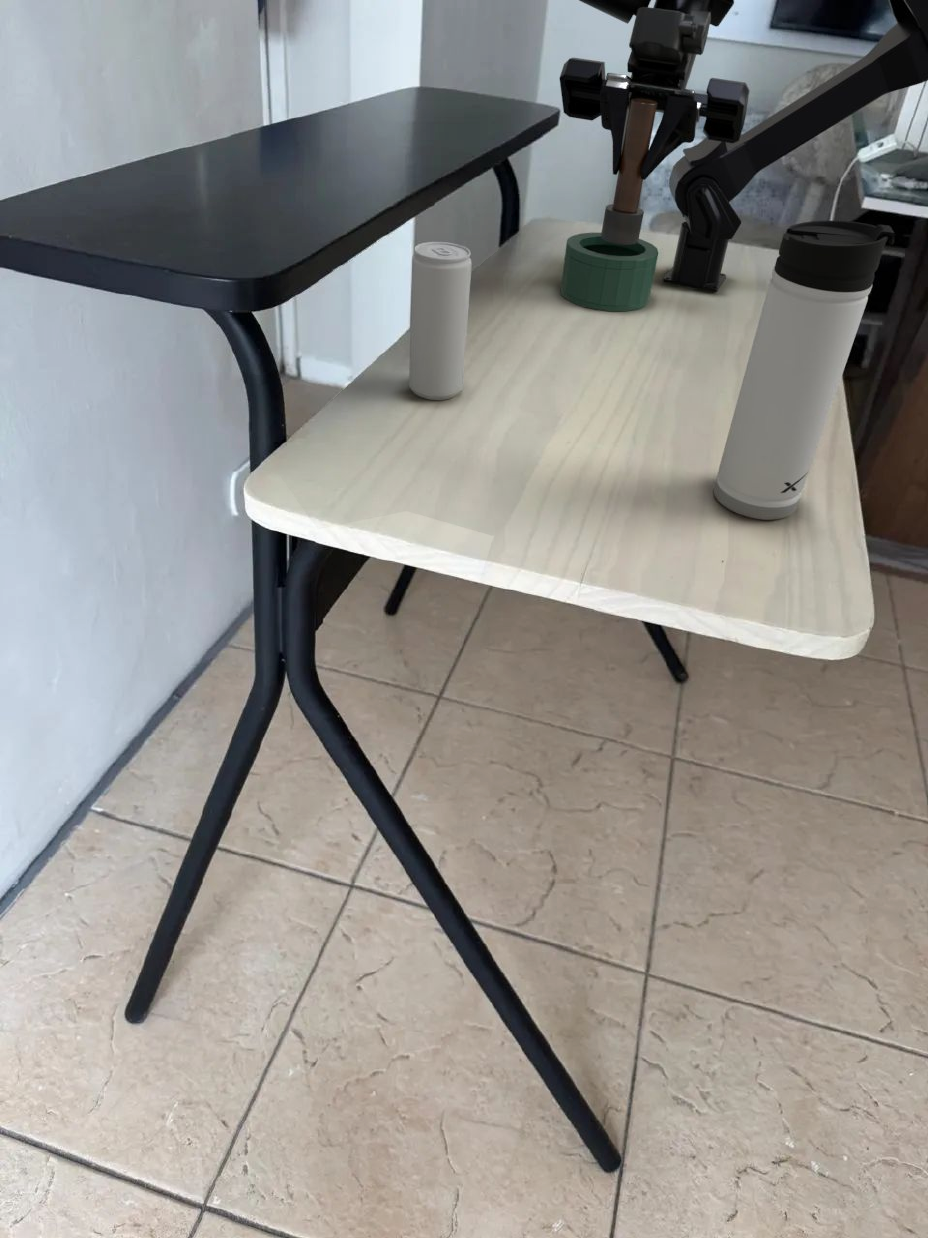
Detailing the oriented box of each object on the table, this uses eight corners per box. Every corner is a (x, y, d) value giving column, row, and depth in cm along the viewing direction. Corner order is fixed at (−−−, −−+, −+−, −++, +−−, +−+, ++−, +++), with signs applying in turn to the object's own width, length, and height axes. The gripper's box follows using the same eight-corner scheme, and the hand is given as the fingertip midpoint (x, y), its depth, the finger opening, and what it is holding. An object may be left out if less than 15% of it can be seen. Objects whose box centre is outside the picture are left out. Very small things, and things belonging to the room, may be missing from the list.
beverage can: (422, 405, 79) (428, 261, 71) (398, 383, 82) (402, 243, 75) (471, 397, 81) (483, 256, 73) (447, 376, 84) (455, 239, 77)
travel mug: (804, 528, 67) (904, 243, 55) (713, 513, 68) (791, 228, 56) (797, 487, 72) (888, 216, 60) (712, 473, 73) (784, 203, 60)
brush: (605, 230, 100) (628, 95, 92) (641, 237, 99) (668, 101, 91) (596, 239, 97) (619, 100, 89) (633, 247, 96) (660, 106, 88)
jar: (575, 275, 110) (582, 227, 106) (657, 291, 107) (667, 242, 104) (548, 299, 102) (555, 248, 99) (636, 317, 100) (645, 265, 96)
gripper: (579, -41, 89) (530, 104, 87) (775, -17, 84) (727, 135, 83) (586, 47, 100) (543, 177, 98) (760, 72, 95) (718, 208, 94)
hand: (628, 174), depth 93 cm, fingers closed on brush, 2 cm apart
